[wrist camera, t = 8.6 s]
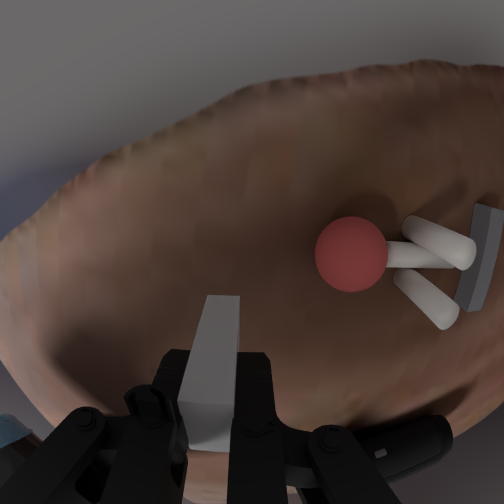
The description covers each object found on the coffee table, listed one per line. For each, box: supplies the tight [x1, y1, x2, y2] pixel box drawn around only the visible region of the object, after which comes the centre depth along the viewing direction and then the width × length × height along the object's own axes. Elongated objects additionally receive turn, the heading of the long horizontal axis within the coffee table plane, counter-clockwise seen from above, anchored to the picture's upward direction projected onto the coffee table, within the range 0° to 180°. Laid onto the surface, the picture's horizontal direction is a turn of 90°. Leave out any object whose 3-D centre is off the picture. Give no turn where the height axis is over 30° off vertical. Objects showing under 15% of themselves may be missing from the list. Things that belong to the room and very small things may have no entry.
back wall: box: [453, 203, 504, 312], centre depth 22 cm, size 3×12×3 cm, turn 178°
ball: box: [315, 216, 388, 292], centre depth 21 cm, size 6×6×6 cm
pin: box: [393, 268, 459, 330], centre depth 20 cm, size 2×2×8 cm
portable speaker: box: [359, 415, 453, 484], centre depth 29 cm, size 26×10×10 cm, turn 104°
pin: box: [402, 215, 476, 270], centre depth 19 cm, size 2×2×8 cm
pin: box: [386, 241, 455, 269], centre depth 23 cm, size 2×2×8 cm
